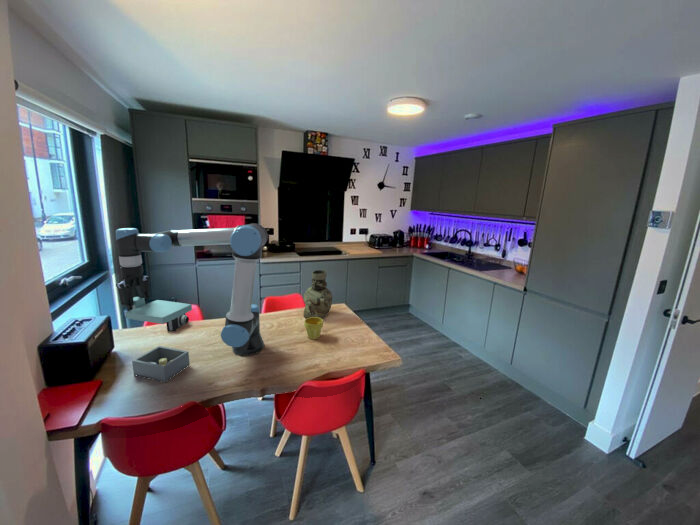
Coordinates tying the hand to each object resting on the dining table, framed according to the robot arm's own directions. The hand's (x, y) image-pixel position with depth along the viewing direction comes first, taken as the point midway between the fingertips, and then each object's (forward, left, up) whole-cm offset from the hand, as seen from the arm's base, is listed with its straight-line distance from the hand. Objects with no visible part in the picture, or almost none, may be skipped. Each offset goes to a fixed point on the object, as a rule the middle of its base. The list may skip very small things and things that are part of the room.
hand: (138, 316), depth 125 cm
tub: (-13, +2, -22) cm, 26 cm away
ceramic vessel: (-56, -76, -23) cm, 97 cm away
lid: (-9, 0, +2) cm, 10 cm away
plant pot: (-64, -48, -23) cm, 83 cm away
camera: (+14, -35, -23) cm, 44 cm away
